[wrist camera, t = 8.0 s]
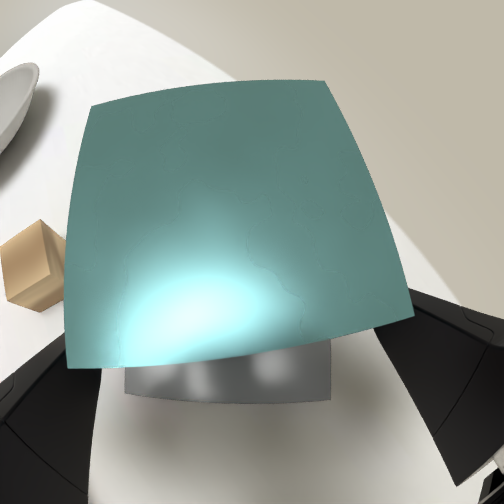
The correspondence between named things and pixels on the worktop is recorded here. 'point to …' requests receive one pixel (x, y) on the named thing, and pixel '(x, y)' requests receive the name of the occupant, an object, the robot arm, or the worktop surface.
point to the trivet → (241, 377)
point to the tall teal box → (223, 228)
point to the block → (34, 267)
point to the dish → (15, 99)
